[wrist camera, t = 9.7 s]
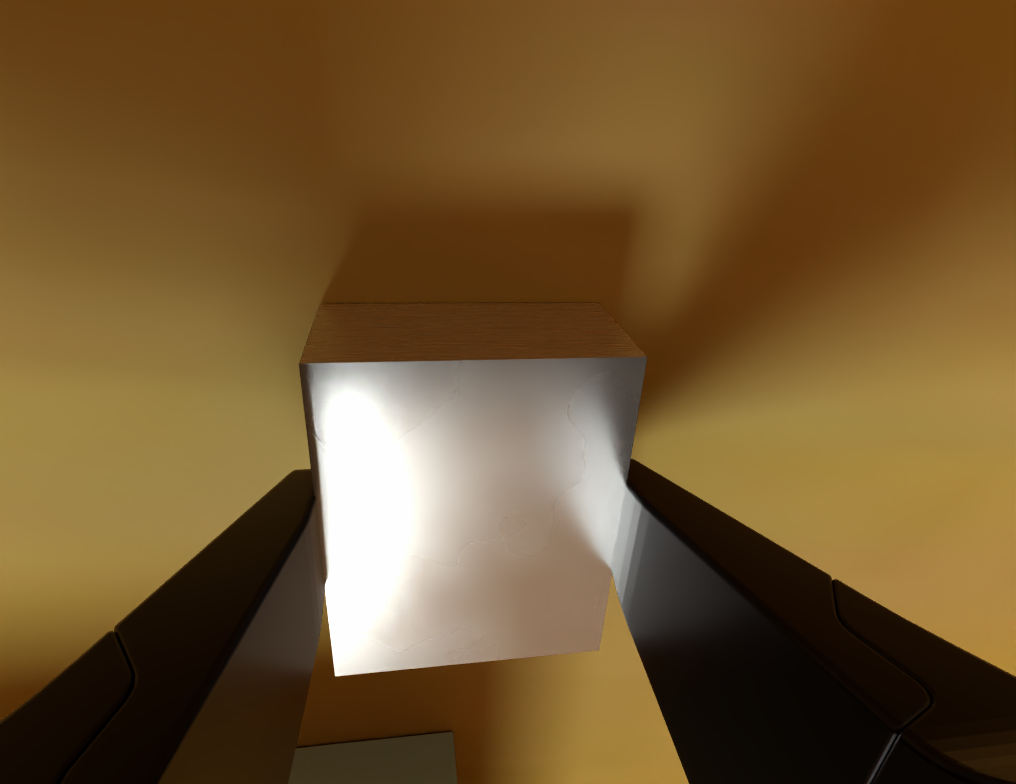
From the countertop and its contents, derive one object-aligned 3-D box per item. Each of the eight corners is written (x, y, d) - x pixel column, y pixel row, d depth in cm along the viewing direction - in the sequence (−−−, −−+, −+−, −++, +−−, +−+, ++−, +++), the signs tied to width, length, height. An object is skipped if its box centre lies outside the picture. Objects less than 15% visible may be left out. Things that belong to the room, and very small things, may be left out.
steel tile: (599, 303, 9) (647, 356, 7) (567, 561, 11) (599, 650, 10) (320, 304, 8) (298, 363, 7) (345, 577, 11) (335, 676, 9)
